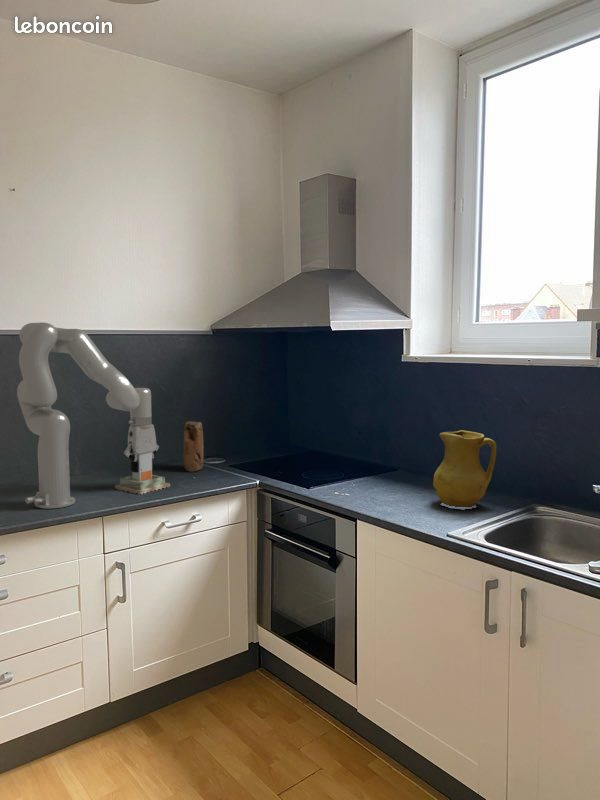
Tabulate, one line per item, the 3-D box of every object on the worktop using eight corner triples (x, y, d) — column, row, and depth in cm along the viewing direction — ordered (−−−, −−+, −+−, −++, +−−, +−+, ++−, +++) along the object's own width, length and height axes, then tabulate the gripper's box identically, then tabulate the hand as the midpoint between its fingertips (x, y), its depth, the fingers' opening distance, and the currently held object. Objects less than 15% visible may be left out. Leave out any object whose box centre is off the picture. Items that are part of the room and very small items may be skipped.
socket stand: (140, 494, 221) (140, 484, 221) (114, 488, 230) (114, 478, 229) (170, 486, 233) (169, 477, 232) (144, 481, 241) (144, 471, 241)
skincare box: (139, 483, 227) (139, 450, 226) (132, 481, 230) (131, 449, 228) (152, 480, 232) (152, 448, 231) (145, 478, 235) (144, 446, 233)
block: (187, 466, 267) (186, 420, 265) (204, 467, 267) (204, 420, 265) (182, 472, 257) (181, 424, 254) (200, 472, 256) (199, 424, 254)
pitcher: (445, 494, 222) (450, 425, 218) (496, 506, 210) (502, 433, 206) (422, 506, 209) (426, 432, 205) (475, 519, 197) (481, 442, 193)
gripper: (128, 425, 219) (130, 476, 221) (166, 420, 233) (167, 467, 235) (115, 423, 224) (116, 473, 226) (152, 418, 238) (153, 465, 240)
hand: (142, 469), depth 230 cm, fingers closed on skincare box, 6 cm apart
